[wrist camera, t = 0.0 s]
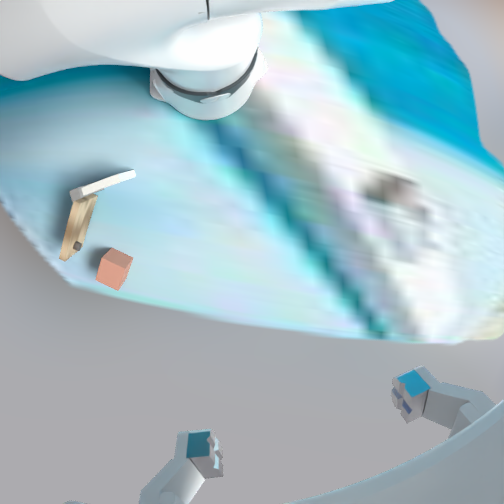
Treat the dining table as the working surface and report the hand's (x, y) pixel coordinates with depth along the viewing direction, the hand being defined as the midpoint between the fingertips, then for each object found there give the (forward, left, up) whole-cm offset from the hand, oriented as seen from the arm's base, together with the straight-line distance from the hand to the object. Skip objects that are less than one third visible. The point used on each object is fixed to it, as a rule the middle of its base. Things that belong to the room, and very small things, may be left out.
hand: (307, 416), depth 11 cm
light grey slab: (-11, -19, -39) cm, 45 cm away
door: (-6, -26, -38) cm, 47 cm away
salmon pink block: (+3, -23, -39) cm, 45 cm away
